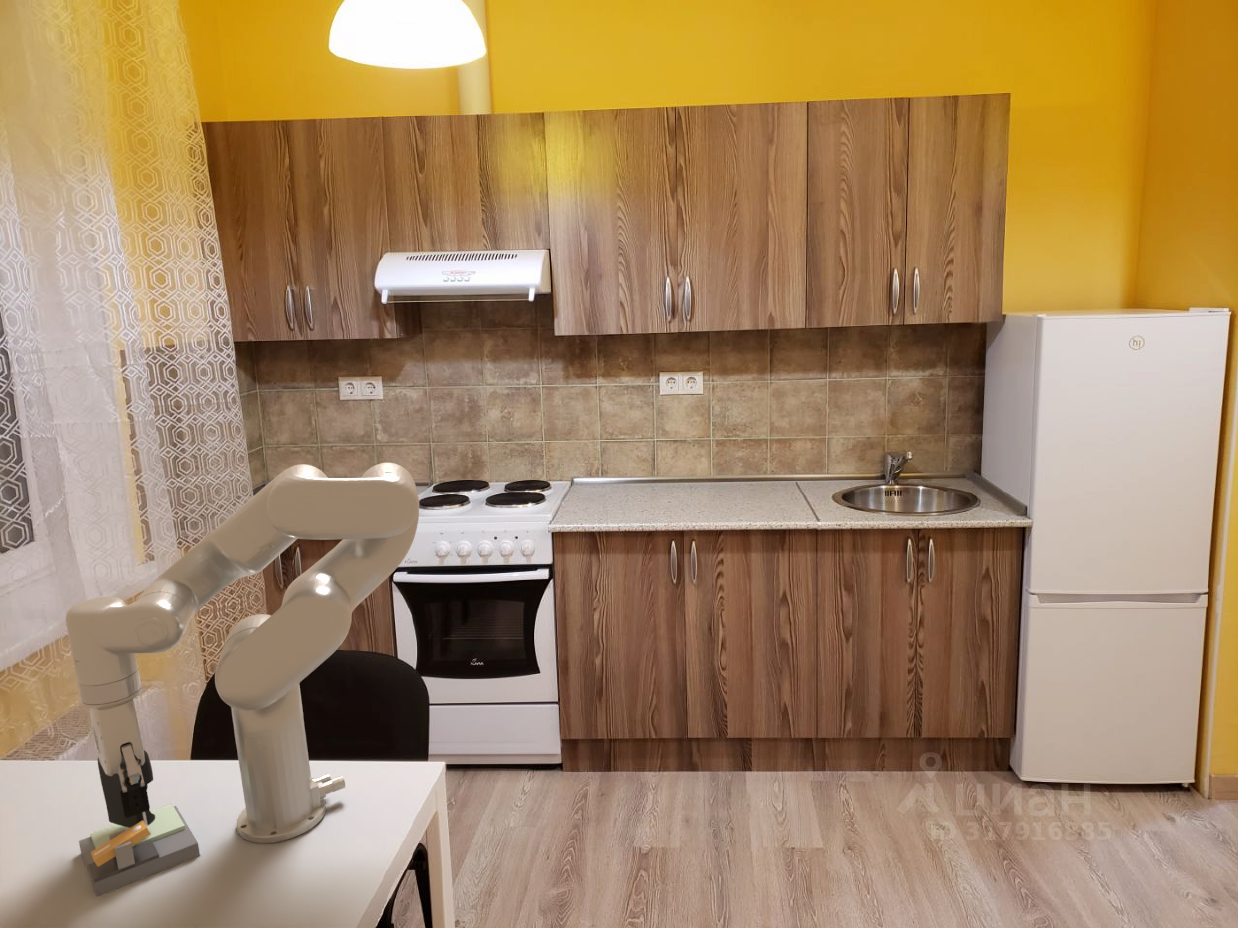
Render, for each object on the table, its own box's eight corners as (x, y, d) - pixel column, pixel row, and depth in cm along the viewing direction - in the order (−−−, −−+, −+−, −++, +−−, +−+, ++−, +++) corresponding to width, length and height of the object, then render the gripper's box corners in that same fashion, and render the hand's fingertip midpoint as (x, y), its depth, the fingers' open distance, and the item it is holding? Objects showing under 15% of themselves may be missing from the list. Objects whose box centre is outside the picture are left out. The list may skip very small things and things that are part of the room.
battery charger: (164, 817, 134) (152, 745, 132) (142, 832, 131) (129, 758, 129) (130, 809, 137) (117, 738, 135) (107, 823, 134) (93, 751, 131)
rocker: (146, 826, 130) (142, 819, 130) (150, 834, 128) (146, 827, 128) (94, 858, 126) (90, 851, 126) (97, 866, 124) (93, 859, 124)
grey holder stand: (177, 817, 141) (172, 784, 140) (199, 855, 132) (194, 819, 131) (81, 853, 134) (74, 818, 133) (97, 895, 124) (89, 858, 123)
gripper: (69, 675, 134) (91, 787, 138) (91, 716, 121) (114, 839, 124) (127, 660, 138) (146, 768, 142) (153, 698, 125) (174, 816, 129)
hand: (131, 800), depth 133 cm, fingers closed on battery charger, 7 cm apart
